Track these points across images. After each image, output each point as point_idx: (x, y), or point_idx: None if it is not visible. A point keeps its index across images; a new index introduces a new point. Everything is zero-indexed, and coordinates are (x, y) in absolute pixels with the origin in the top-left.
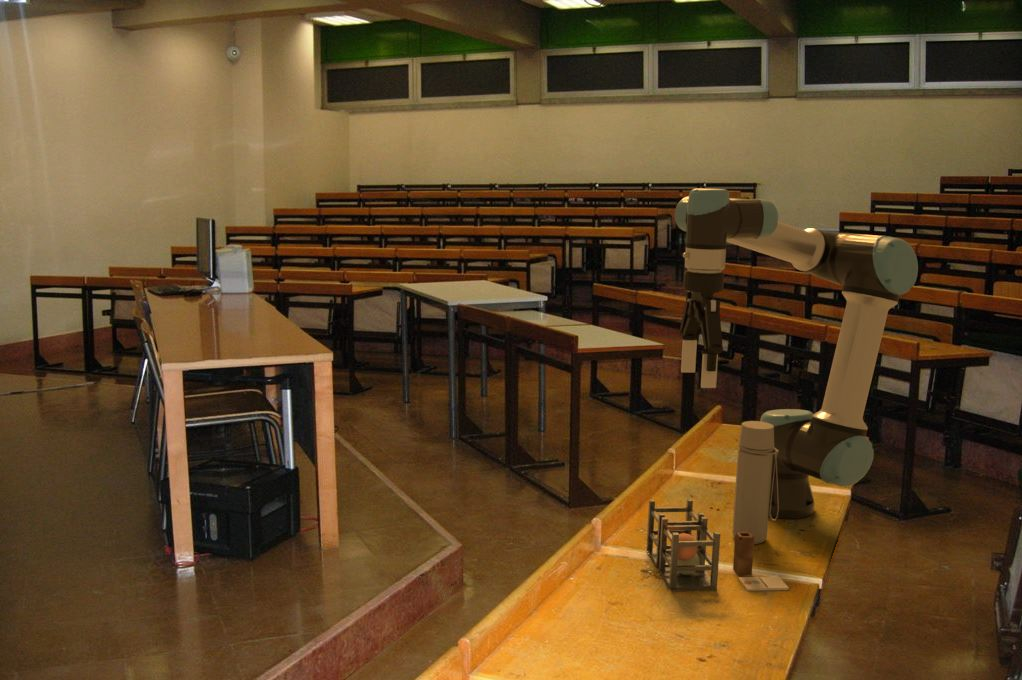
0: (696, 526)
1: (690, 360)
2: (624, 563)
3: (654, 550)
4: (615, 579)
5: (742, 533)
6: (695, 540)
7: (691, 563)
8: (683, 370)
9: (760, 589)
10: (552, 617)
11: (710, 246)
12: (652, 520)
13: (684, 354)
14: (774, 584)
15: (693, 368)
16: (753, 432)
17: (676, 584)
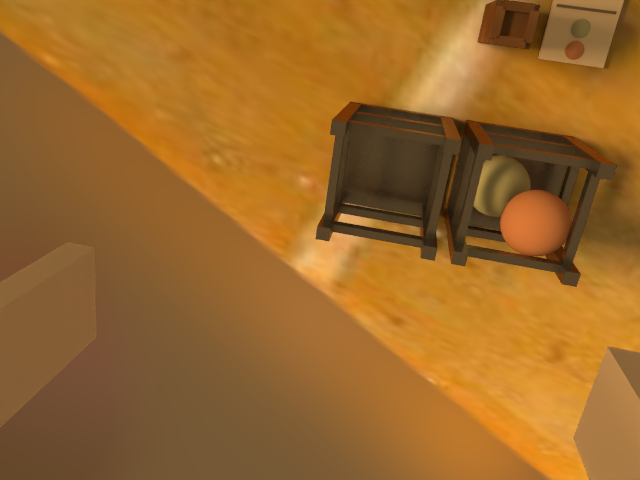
0: (481, 169)
1: (37, 331)
2: (387, 266)
3: (354, 190)
4: (457, 312)
5: (501, 25)
6: (555, 206)
7: (529, 189)
8: (86, 334)
9: (613, 33)
10: (573, 462)
11: None
12: (337, 216)
13: (2, 410)
14: None
15: (76, 273)
16: None
17: None
